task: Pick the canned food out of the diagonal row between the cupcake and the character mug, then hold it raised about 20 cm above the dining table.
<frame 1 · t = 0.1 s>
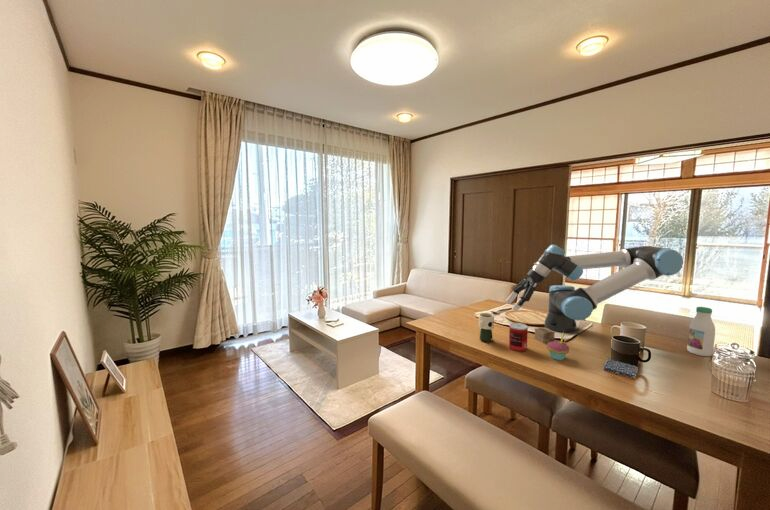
hand: (510, 306, 152), 15 cm above the table, tool tilted 35°, fingers open, 13 cm apart
character mug: (486, 340, 149), on the table
canned food: (517, 348, 139), on the table
walnut block: (544, 340, 148), on the table
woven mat: (620, 371, 118), on the table
cupcake: (557, 358, 129), on the table
milk bottle: (699, 353, 130), on the table
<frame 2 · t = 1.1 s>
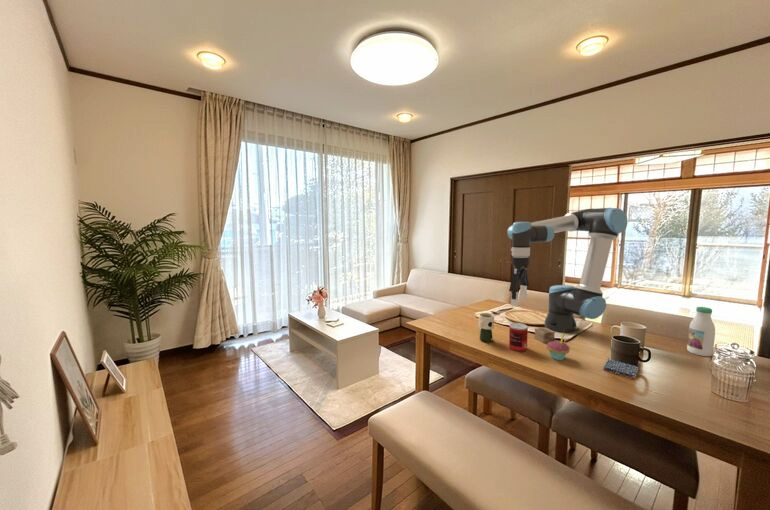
hand: (518, 302, 137), 22 cm above the table, tool pointing down, fingers open, 13 cm apart
nothing on the table moved.
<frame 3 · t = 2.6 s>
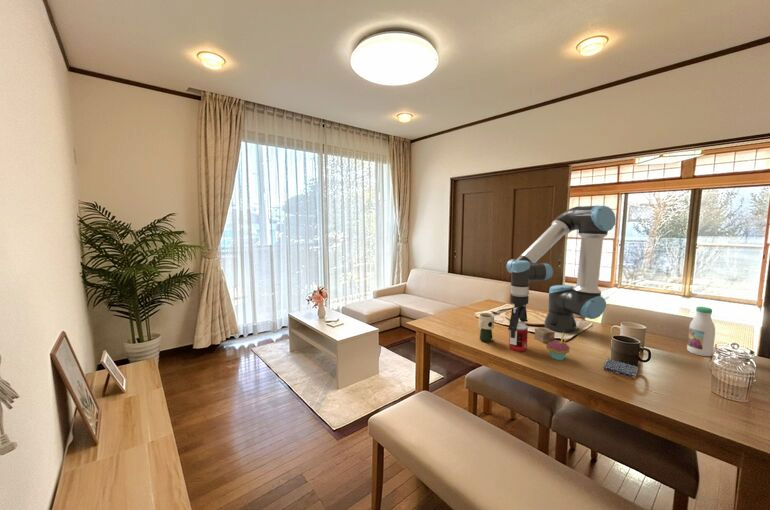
hand: (517, 339, 139), 4 cm above the table, tool pointing down, fingers open, 13 cm apart
nothing on the table moved.
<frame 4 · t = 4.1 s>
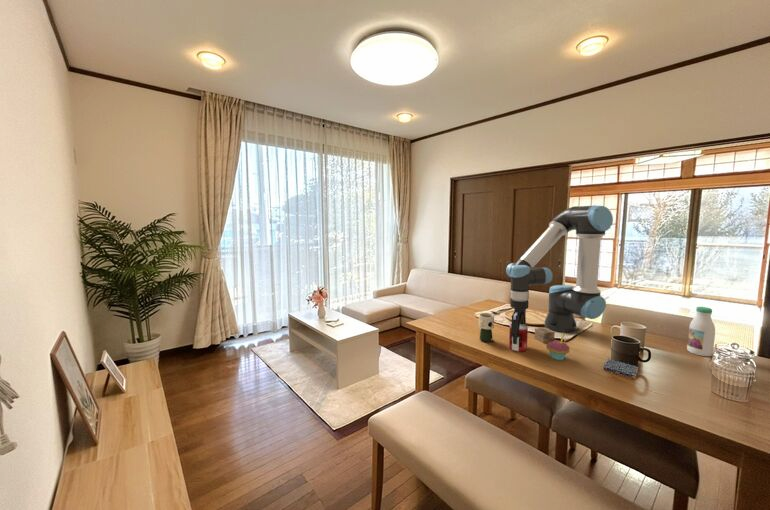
hand: (518, 346, 139), 1 cm above the table, tool pointing down, fingers closed on canned food, 8 cm apart
canned food: (518, 348, 139), on the table, touching gripper
everything else where it was.
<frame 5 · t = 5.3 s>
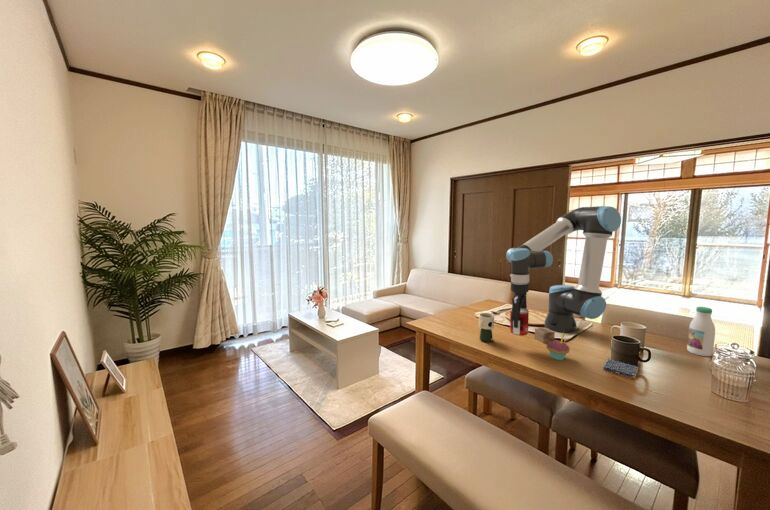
hand: (519, 330, 138), 8 cm above the table, tool pointing down, fingers closed on canned food, 8 cm apart
canned food: (519, 332, 138), point 7 cm above the table, touching gripper
everything else where it was.
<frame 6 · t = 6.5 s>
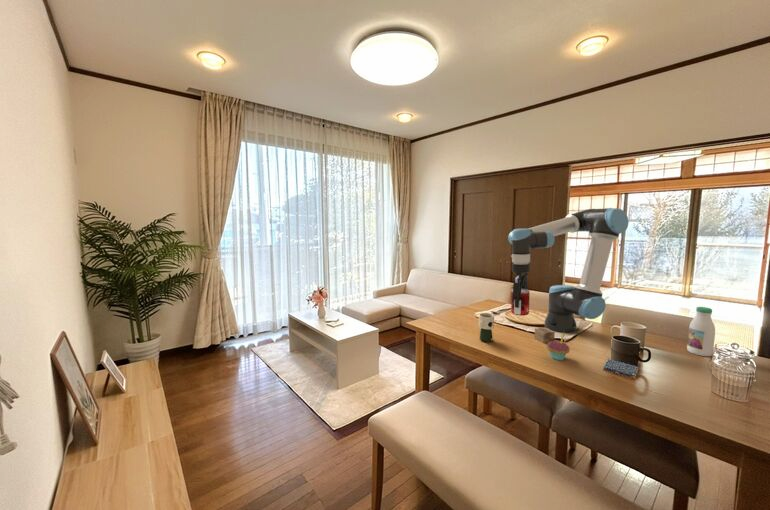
hand: (520, 311, 139), 17 cm above the table, tool pointing down, fingers closed on canned food, 8 cm apart
canned food: (520, 313, 139), point 16 cm above the table, touching gripper
everything else where it was.
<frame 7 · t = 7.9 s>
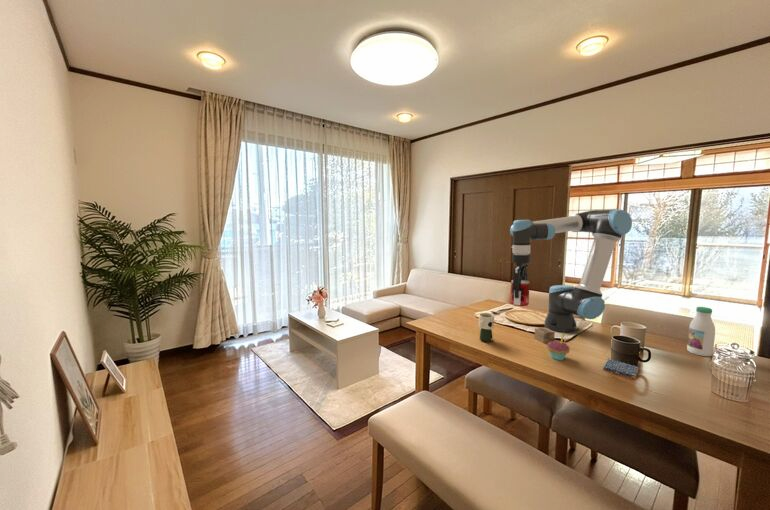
hand: (519, 302, 139), 21 cm above the table, tool pointing down, fingers closed on canned food, 8 cm apart
canned food: (519, 304, 139), point 20 cm above the table, touching gripper
everything else where it was.
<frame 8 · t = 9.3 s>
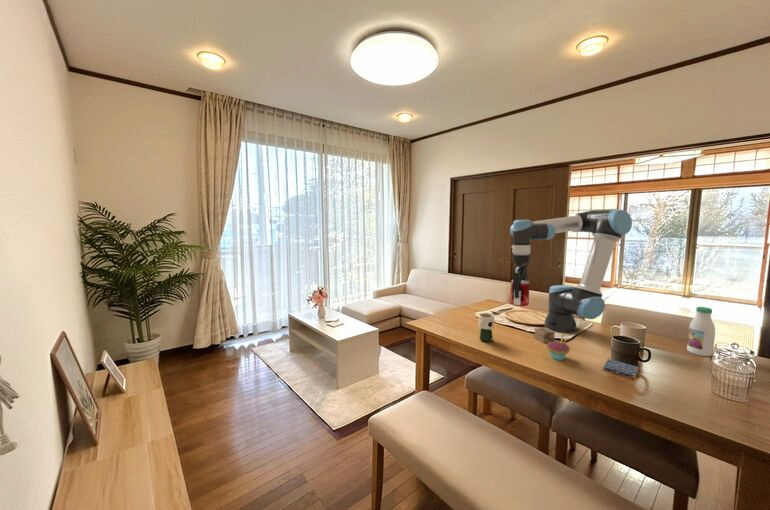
hand: (519, 302, 139), 21 cm above the table, tool pointing down, fingers closed on canned food, 8 cm apart
canned food: (519, 304, 139), point 20 cm above the table, touching gripper
everything else where it was.
at the end: the gripper is holding canned food; canned food point 20.2 cm above the table; character mug moved 0.2 cm from its start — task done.
